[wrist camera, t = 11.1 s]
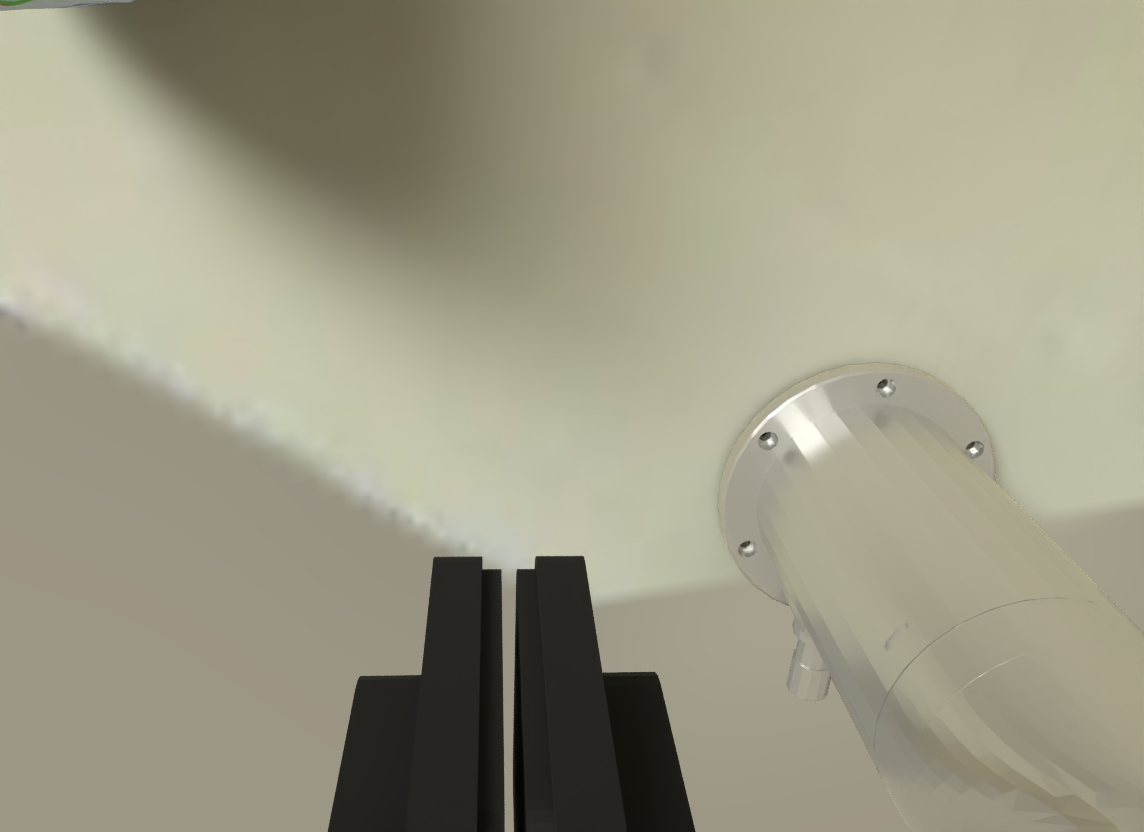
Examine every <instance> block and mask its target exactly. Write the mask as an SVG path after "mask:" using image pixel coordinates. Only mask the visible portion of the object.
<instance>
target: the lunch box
mask: <svg viewBox="0 0 1144 832" xmlns="http://www.w3.org/2000/svg"><path fill="white" fill-rule="evenodd" d="M132 1H135V0H0V11H4V10H18V9H44V8H68V7H83V6H90V5H97V4H104V3H111V2H113V3H122V2H132Z"/></svg>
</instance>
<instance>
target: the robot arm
mask: <svg viewBox="0 0 1144 832" xmlns="http://www.w3.org/2000/svg"><path fill="white" fill-rule="evenodd" d="M883 379H884V380H883ZM882 380H883V382H882V383H881V384H879V382H881V381H882ZM878 384H879V385H878ZM766 432H768V433H767V434H766V435H765V436H762V437H760V436H761V435H762V434H764V433H766ZM718 511H719V518H720V524H721V531H722V533H723V536H724V538H725V541H726V544H727V546H728V549H729V551H730V553H731V555H732V557H733V558H734V560H735V562H736V564H737V566H738V568H739V569H740V571H741V572H742V573H743V574H744V575H745V576H746V577H747V578H748V580H749V581H750V582H751V583H752V584H753V585H754V586H755V587H757V588H758V589H759V590H761V591H762V592H763V593H765V594H766V595H768V596H769V597H770V598H772V599H774V600H776V601H779V602H781V603H783V604H785V605H787V606H790V607H791V610H792V612H793V614H794V616H795V617H794V621H793V632H794V634H796V636H797V637H798V642H797V647H796V649H795V651H794V653H793V657H792V661H791V666H790V670H789V675H788V679H787V684H786V685H787V687H788V690H789V691H790V692H791V693H792V694H793V695H794V696H796V697H798V698H800V699H803V700H805V701H819V700H822V699H824V698H825V696H826V695H827V692H828V689H829V684H830V680H831V678H832V680H833V682H834V684H835V686H836V688H837V690H838V692H839V694H840V696H841V698H842V700H843V702H844V704H845V706H846V708H847V710H848V712H849V714H850V716H851V718H852V720H853V722H854V724H855V726H856V728H857V730H858V732H859V734H860V736H861V738H862V740H863V742H864V744H865V746H866V748H867V750H868V752H869V754H870V756H871V758H872V760H873V762H874V764H875V766H876V768H877V770H878V772H879V774H880V776H881V779H882V780H883V783H884V785H885V787H886V788H887V791H888V793H889V794H890V796H891V798H892V800H893V802H894V804H895V806H896V808H897V810H898V812H899V813H900V815H901V816H902V818H903V820H904V821H905V823H906V824H907V826H908V827H909V828H910V830H911V831H912V832H1144V632H1143V631H1142V630H1141V629H1140V628H1139V627H1138V626H1137V625H1136V624H1135V623H1134V622H1133V621H1132V620H1131V619H1130V618H1129V617H1128V616H1127V615H1126V614H1125V613H1124V612H1123V611H1122V610H1121V609H1120V608H1119V607H1118V606H1117V605H1116V604H1115V603H1114V602H1113V601H1112V600H1111V599H1110V598H1109V597H1108V596H1107V595H1106V594H1105V593H1104V592H1103V591H1102V590H1101V589H1100V588H1099V587H1098V586H1097V585H1096V584H1095V583H1094V582H1093V580H1091V578H1090V577H1089V576H1087V574H1086V573H1084V572H1083V570H1081V568H1080V567H1079V566H1078V565H1077V564H1075V562H1074V561H1073V560H1072V559H1071V558H1070V557H1069V556H1068V555H1067V554H1066V553H1065V552H1064V551H1063V550H1062V549H1061V548H1060V547H1059V546H1058V545H1057V544H1056V543H1055V542H1054V541H1053V540H1052V539H1051V538H1050V537H1049V536H1048V535H1047V534H1046V533H1045V532H1044V531H1043V530H1042V529H1041V528H1040V527H1039V526H1038V525H1037V524H1036V523H1035V522H1034V521H1033V520H1032V519H1031V518H1030V517H1029V516H1028V515H1027V514H1026V513H1025V512H1024V511H1023V510H1022V509H1021V508H1020V507H1019V506H1018V505H1017V504H1016V503H1015V502H1014V501H1013V500H1012V499H1011V498H1010V497H1009V496H1008V495H1007V494H1006V493H1005V492H1004V491H1003V490H1002V489H1001V488H1000V487H999V486H998V485H997V484H996V483H995V482H994V456H993V451H992V447H991V443H990V439H989V436H988V434H987V432H986V430H985V428H984V426H983V424H982V422H981V420H980V418H979V416H978V415H977V414H976V413H975V412H974V410H973V409H972V408H971V407H970V406H969V405H968V404H967V402H966V401H965V400H964V399H963V398H962V397H961V396H960V395H958V394H957V393H956V392H955V391H954V390H952V389H951V388H950V387H949V386H948V385H947V384H945V383H943V382H941V381H940V380H938V379H936V378H934V377H932V376H931V375H929V374H927V373H925V372H922V371H918V370H915V369H912V368H909V367H905V366H902V365H893V364H883V363H868V364H856V365H848V366H844V367H840V368H836V369H832V370H829V371H825V372H822V373H819V374H817V375H815V376H813V377H810V378H808V379H806V380H804V381H802V382H799V383H797V384H796V385H794V386H793V387H791V388H790V389H788V390H787V391H785V392H784V393H782V394H781V395H779V396H778V397H776V398H775V399H773V400H772V401H771V402H770V403H769V404H768V405H767V406H766V407H765V408H764V409H763V410H762V411H760V412H759V413H758V414H757V415H756V416H755V417H754V418H753V419H752V421H751V422H750V423H749V425H748V426H747V427H746V429H745V430H744V431H743V433H742V434H741V435H740V437H739V438H738V439H737V441H736V443H735V445H734V447H733V449H732V451H731V453H730V455H729V457H728V459H727V461H726V464H725V468H724V472H723V475H722V479H721V482H720V487H719V503H718ZM423 656H424V657H423V666H422V675H408V676H407V675H406V676H360V677H359V679H358V682H357V685H356V689H355V694H354V700H353V705H352V709H351V715H350V720H349V725H348V730H347V735H346V741H345V746H344V751H343V756H342V761H341V767H340V772H339V777H338V782H337V787H336V792H335V797H334V802H333V807H332V813H331V818H330V823H329V828H328V832H504V742H503V741H504V739H503V659H502V581H501V569H486V570H482V557H434V559H433V568H432V578H431V587H430V597H429V607H428V616H427V627H426V636H425V645H424V655H423ZM514 682H515V683H514V735H513V737H514V738H513V804H514V832H695V828H694V824H693V820H692V815H691V811H690V807H689V803H688V799H687V794H686V790H685V786H684V781H683V777H682V773H681V769H680V765H679V760H678V756H677V752H676V747H675V744H674V739H673V735H672V731H671V727H670V722H669V718H668V714H667V710H666V705H665V701H664V697H663V692H662V688H661V684H660V681H659V678H658V675H657V674H656V673H655V672H619V673H602V668H601V661H600V655H599V648H598V642H597V635H596V629H595V623H594V617H593V610H592V603H591V597H590V591H589V584H588V578H587V571H586V565H585V560H584V557H583V556H536V558H535V569H517V574H516V625H515V681H514Z"/></svg>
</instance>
